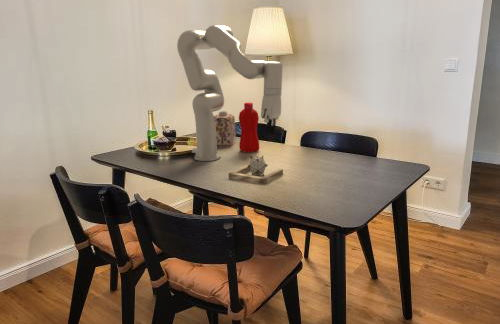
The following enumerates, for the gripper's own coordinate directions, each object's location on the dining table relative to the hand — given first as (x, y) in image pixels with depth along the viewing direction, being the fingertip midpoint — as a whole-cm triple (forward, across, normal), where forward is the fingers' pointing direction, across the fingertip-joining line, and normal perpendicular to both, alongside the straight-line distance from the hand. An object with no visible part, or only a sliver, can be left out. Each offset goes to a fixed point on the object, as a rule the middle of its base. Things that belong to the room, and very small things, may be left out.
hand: (270, 133), depth 176 cm
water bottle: (+16, -21, -23) cm, 35 cm away
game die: (+15, +13, +2) cm, 20 cm away
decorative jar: (+18, -30, -46) cm, 58 cm away
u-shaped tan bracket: (+15, +14, +2) cm, 20 cm away
